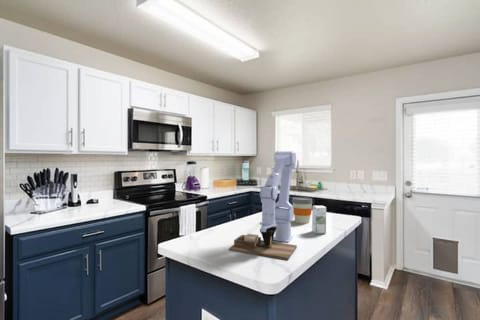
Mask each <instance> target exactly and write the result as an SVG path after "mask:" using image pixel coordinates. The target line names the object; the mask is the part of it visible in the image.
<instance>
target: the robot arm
mask: <svg viewBox="0 0 480 320" xmlns="http://www.w3.org/2000/svg"><path fill="white" fill-rule="evenodd" d="M274 152H275V153H274V155H273V160H274V166H273V169H272V172H271V173H270V174H269V175H268V177H267V179H266V182H265V184H264V185H263V186H262V187H261V188H260V191H259V197H260V202H261V208H262V209H261V221H260V222H259V225H260V229H259V232H260V234H261V236H262V237H261V238H262V239H263V241H264V245H266V246H269V245H270V240H271V243H272V242H274V241H275V242H276V241H277V242H282V243H283V242H284V243H289V242H290V241H291V240H292V239H293V237H294V235H292V224H291V222H292V221H293V220H294V212H293V209H294V208H293V204H292V203H290V202H289V200H290V191H291V184H292V183H291V180H292V173H293V170H294V169H296V168H295V167H296V165H297V156H296V152H295V151H294V150H291V151H290V150H289V151H287V150H286V151H283V150H281V151H280V150H276V151H274ZM279 185H280V187H279ZM278 192H279V197H278ZM277 198H278V201H276V200H277ZM271 236H272V239H271Z"/></svg>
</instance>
